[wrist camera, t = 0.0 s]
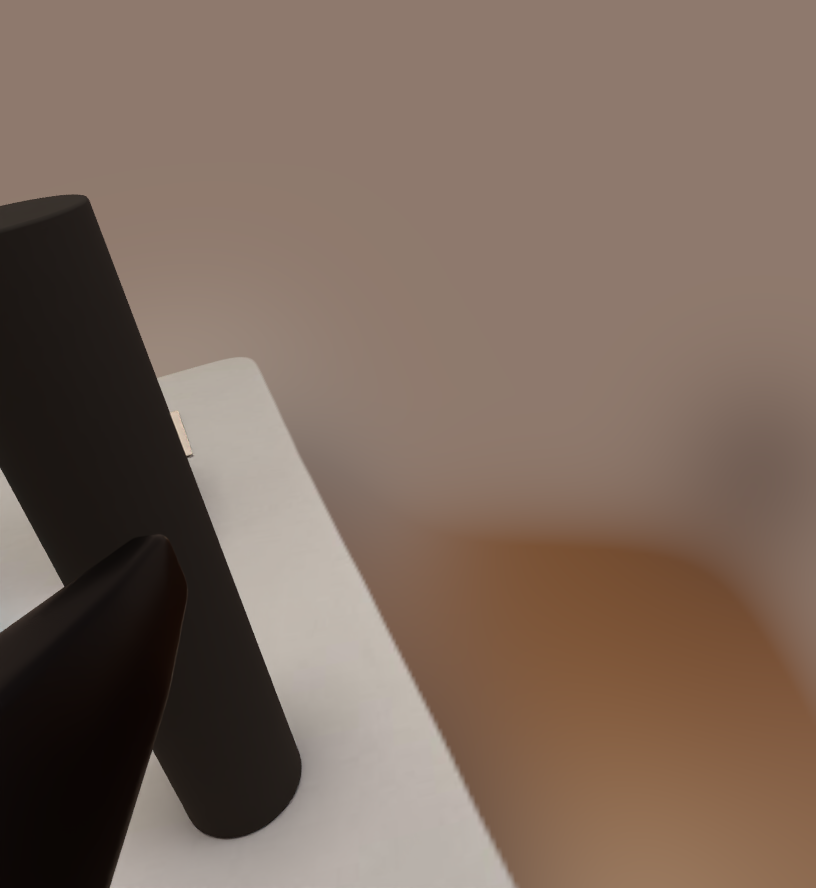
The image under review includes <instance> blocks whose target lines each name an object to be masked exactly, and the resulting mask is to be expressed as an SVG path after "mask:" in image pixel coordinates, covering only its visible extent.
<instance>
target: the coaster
mask: <svg viewBox="0 0 816 888" xmlns="http://www.w3.org/2000/svg"><path fill="white" fill-rule="evenodd" d="M170 414H171V417H172V420H173V422H174V425H175V428H176V430H177V433H178V436H179V438H180V441H181V443H182V446H183V449H184V451H185V454H186V456H188V455H191V454H193V453H192V451H191V448H190V445H189V442H188V439H187V436H186V433H185V430H184V427H183V424H182V421H181V418H180V415H179V412H178V410H177V411H174V412H171V413H170Z"/></svg>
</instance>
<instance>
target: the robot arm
mask: <svg viewBox="0 0 816 888" xmlns="http://www.w3.org/2000/svg"><path fill="white" fill-rule="evenodd" d="M187 597H188V586H187V581H186V578H185V576H184V573H183V571H182V569H181V566H180V564H179V561H178V559H177V557H176V554H175V552H174V550H173V547H172V545H171V543H170V541H169V540H168V538H167V537H166V536H164V535H161V534H157V535H149V536H140V537H135V538H133V539H131V540H129V541H128V542H127V543H125V544H124V545H122V546H121V547H120V548H118V549H117V550H116V551H114V552H113V553H111V554H110V555H109V556H107V557H106V558H104V559H103V560H102V561H100V562H99V563H97V564H96V565H95V566H93V567H92V568H90V569H89V570H88V571H86V572H85V573H83V574H82V575H81V576H79V577H78V578H76V579H75V580H74V581H72V582H71V583H69V584H68V585H67V586H65V587H64V588H62V589H61V590H60V591H58V592H57V593H55V594H54V595H53V596H51V597H50V598H48V599H47V600H46V601H44V602H43V603H41V604H40V605H39V606H37V607H36V608H34V609H33V610H32V611H30V612H29V613H27V614H26V615H25V616H23V617H22V618H20V619H19V620H18V621H16V622H15V623H13V624H12V625H11V626H9V627H8V628H7V629H5V630H4V631H2V632H1V633H0V888H110V885H111V881H112V878H113V875H114V872H115V868H116V865H117V862H118V859H119V856H120V852H121V849H122V846H123V843H124V839H125V836H126V833H127V830H128V826H129V823H130V820H131V817H132V814H133V810H134V807H135V804H136V801H137V797H138V794H139V791H140V788H141V784H142V781H143V778H144V775H145V771H146V768H147V765H148V762H149V759H150V755H151V752H152V749H153V746H154V742H155V739H156V736H157V733H158V729H159V726H160V723H161V720H162V716H163V713H164V710H165V706H166V703H167V699H168V695H169V691H170V686H171V682H172V677H173V671H174V666H175V661H176V656H177V650H178V645H179V640H180V635H181V629H182V624H183V619H184V614H185V608H186V603H187Z"/></svg>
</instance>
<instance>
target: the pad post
mask: <svg viewBox="0 0 816 888" xmlns="http://www.w3.org/2000/svg"><path fill="white" fill-rule="evenodd" d="M0 468H1V470H2V472H3V473H4V475H5V477H6V479H7V481H8V483H9V485H10V486H11V488H12V490H13V492H14V494H15V496H16V497H17V499H18V501H19V503H20V505H21V507H22V509H23V510H24V512H25V514H26V516H27V518H28V520H29V522H30V523H31V525H32V527H33V529H34V531H35V533H36V535H37V536H38V538H39V540H40V542H41V544H42V546H43V548H44V549H45V551H46V553H47V555H48V557H49V559H50V561H51V562H52V564H53V566H54V568H55V570H56V572H57V573H58V575H59V577H60V579H61V581H62V583H63V585H64V586H67V585H68V584H69V583H71V582H72V581H74V580H75V579H76V578H78V577H79V576H81V575H82V574H83V573H85V572H86V571H88V570H89V569H90V568H92V567H93V566H95V565H96V564H97V563H99V562H100V561H102V560H103V559H104V558H106V557H107V556H109V555H110V554H111V553H113V552H114V551H116V550H117V549H118V548H120V547H121V546H122V545H124V544H125V543H127V542H128V541H129V540H131V539H133V538H135V537H140V536H149V535H157V534H161V535H164V536H166V537H167V538H168V540H169V541H170V543H171V545H172V547H173V550H174V552H175V554H176V557H177V559H178V561H179V564H180V566H181V569H182V571H183V573H184V576H185V578H186V581H187V586H188V597H187V603H186V608H185V614H184V619H183V624H182V629H181V635H180V640H179V645H178V650H177V656H176V661H175V666H174V671H173V677H172V682H171V686H170V691H169V695H168V699H167V703H166V706H165V710H164V713H163V716H162V720H161V723H160V726H159V729H158V733H157V736H156V739H155V742H154V746H153V749H152V750H153V751H154V753H155V755H156V757H157V759H158V761H159V763H160V764H161V766H162V768H163V770H164V772H165V774H166V776H167V777H168V779H169V781H170V783H171V785H172V787H173V788H174V790H175V792H176V794H177V796H178V798H179V800H180V801H181V803H182V805H183V807H184V809H185V811H186V813H187V814H188V816H189V818H190V820H191V821H192V823H193V824H194V825H195V826H196V827H197V828H198V829H199V830H201V831H202V832H204V833H206V834H208V835H211V836H215V837H221V838H232V837H238V836H242V835H246V834H249V833H251V832H254V831H256V830H258V829H260V828H262V827H263V826H265V825H266V824H268V823H269V822H271V821H272V820H273V819H274V818H275V817H277V816H278V815H279V814H280V813H281V812H282V811H283V810H284V808H285V807H286V806H287V804H288V803H289V802H290V800H291V799H292V797H293V795H294V793H295V791H296V789H297V786H298V783H299V780H300V775H301V759H300V754H299V752H298V749H297V746H296V744H295V741H294V738H293V736H292V733H291V731H290V728H289V725H288V723H287V720H286V717H285V715H284V712H283V709H282V707H281V704H280V702H279V699H278V696H277V694H276V691H275V688H274V686H273V683H272V680H271V678H270V675H269V673H268V670H267V667H266V665H265V662H264V659H263V657H262V654H261V652H260V649H259V646H258V644H257V641H256V638H255V636H254V633H253V630H252V628H251V625H250V623H249V620H248V617H247V615H246V612H245V609H244V607H243V604H242V601H241V599H240V596H239V594H238V591H237V588H236V586H235V583H234V580H233V578H232V575H231V573H230V570H229V567H228V565H227V562H226V559H225V557H224V554H223V551H222V549H221V546H220V544H219V541H218V538H217V536H216V533H215V530H214V528H213V525H212V522H211V520H210V517H209V515H208V512H207V509H206V507H205V504H204V501H203V499H202V496H201V494H200V491H199V488H198V486H197V483H196V480H195V478H194V475H193V472H192V470H191V467H190V465H189V462H188V459H187V457H186V454H185V451H184V449H183V446H182V443H181V441H180V438H179V436H178V433H177V430H176V428H175V425H174V422H173V420H172V417H171V414H170V412H169V409H168V407H167V404H166V401H165V399H164V396H163V393H162V391H161V388H160V386H159V383H158V380H157V378H156V375H155V372H154V370H153V367H152V364H151V362H150V359H149V357H148V354H147V351H146V349H145V346H144V343H143V341H142V338H141V336H140V333H139V330H138V328H137V325H136V322H135V320H134V317H133V314H132V312H131V309H130V307H129V304H128V301H127V299H126V296H125V293H124V291H123V288H122V286H121V283H120V280H119V278H118V275H117V272H116V270H115V267H114V264H113V262H112V259H111V257H110V254H109V251H108V249H107V246H106V244H105V241H104V238H103V235H102V233H101V231H100V228H99V225H98V222H97V220H96V217H95V214H94V212H93V209H92V206H91V204H90V202H89V199H88V198H87V197H86V196H84V195H60V196H52V197H46V198H39V199H33V200H28V201H22V202H17V203H12V204H8V205H3V206H0Z"/></svg>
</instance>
